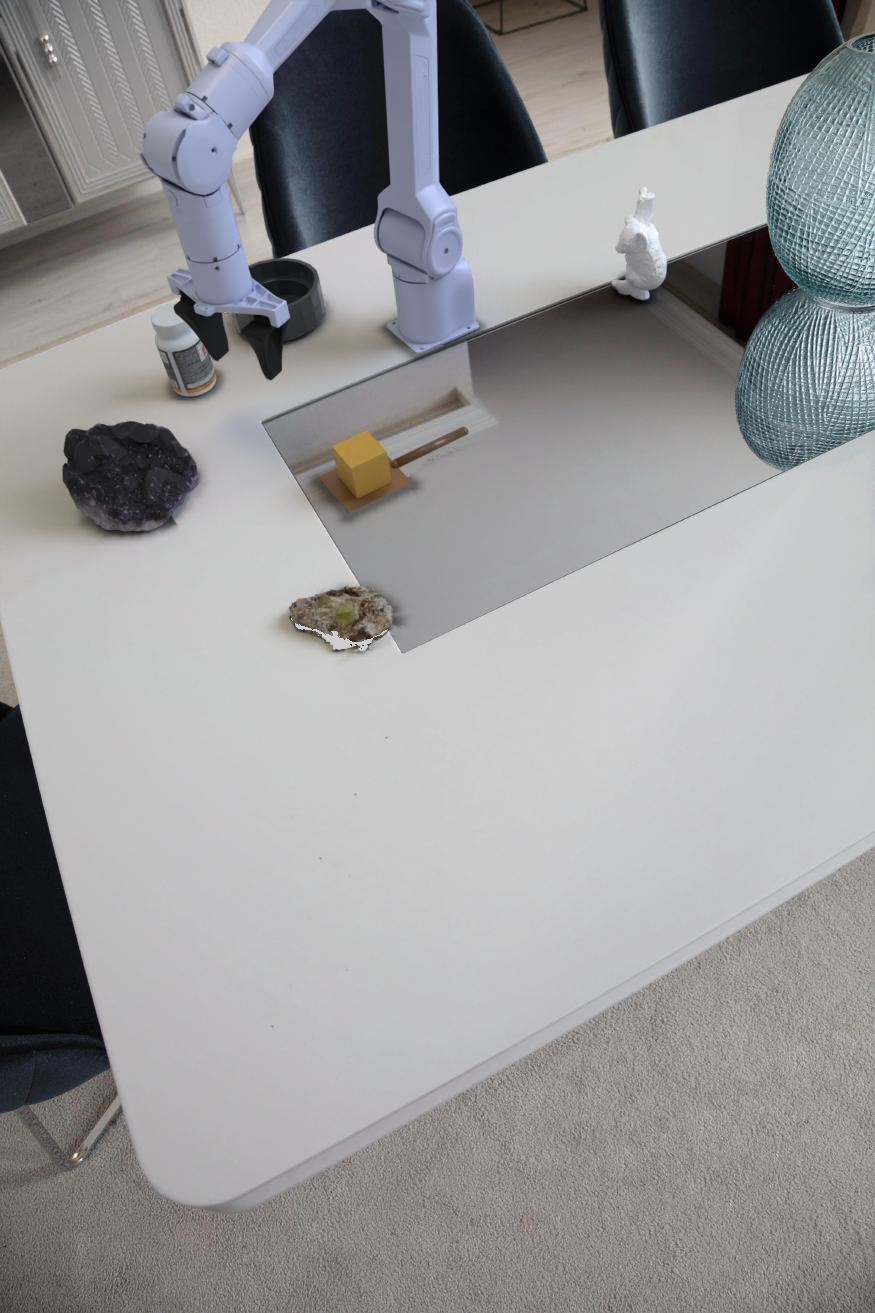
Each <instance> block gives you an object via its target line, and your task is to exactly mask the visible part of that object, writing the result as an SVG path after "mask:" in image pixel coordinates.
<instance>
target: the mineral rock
mask: <svg viewBox="0 0 875 1313" xmlns="http://www.w3.org/2000/svg"><path fill="white" fill-rule="evenodd" d="M288 610H289V612H291V614H292V615H290V614H289V617H288V618H289V620H290V622H291V623H292V624H293V623H294V624H295V623H296V624H298V625H299V624H300V625H301V626H305V627H308V628H311V629H312V630H313V629H317V630H319V631H321V632H323V633H324V634H325V633H326V634H329V635H331V636H333V633H332V632H331V631H337V632H338V635H337V636H338V637H339V636H340V637H339V638H343V639H344V640H345V639H346V638H347V639H349V640H350V641H352V642H362V641H364V640H367V639H371V638H373V637H374V638H373V640H372V641H378V640H380V639H382V638H384V637H385V636H386V635H387V634H388V632H389V631H390V630H391V629H392V628H393V622H394V620H395V613H394V608H393V607H392V606H391V605H390V603H389V602H388V601H387V599H386V598H385V597H384V595H383V594H382V593H380V592H376V589H375V588H373V587H368V588H367V587H365V585H362V584H360V585H359V586H348V585H347V586H343V587H342V588H340V589H339V590H337V589H330V590H328V591H325V592H321V593H316V594H315V595H312V596H307V597H301V598H297V599H296V600H295V601H293V602H292V603H291V605H290V606H289V607H288ZM291 618H292V620H293V621H292V620H291ZM390 627H391V628H390ZM293 628H294V629H296V630H298V631H299V632H302V633H304V634H308V635H315V636H316V637H317V638H320V637H321V638H320V639H323V638H322V634H319V633H318V632H316V631H312V630H305V629H303V630H301V629H298V628H297V627H296V626H294V625H293ZM389 628H390V629H389ZM387 629H389V630H388V631H387V632H385V633H384V634H383V635H380V634H381V633H382V632H383V631H385V630H387ZM326 634H325V635H326ZM318 635H319V636H320V637H318ZM377 635H380V636H377ZM375 636H377V637H375ZM350 645H351V646H352V644H350ZM355 645H356V646H357V647H358V645H357V644H355ZM367 645H368V646H369V647H370V646H372V643H370V644H367ZM362 646H364V645H362ZM359 648H360V647H359ZM361 649H362V648H361Z"/></svg>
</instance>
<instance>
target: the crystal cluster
mask: <svg viewBox="0 0 875 1313" xmlns="http://www.w3.org/2000/svg"><path fill="white" fill-rule="evenodd" d="M62 452H63V455H64V457H65V458H66V459H67V460H66V462H64V463H63V465H61V466H62V468H61V473H62V483H63V484H64V485H65V487H66V489H67V490H68V492H69V495H70V497H71V499H72V501H73V504H74V505H75V507H76V508H77V509H78V510H79V511H80V512H82V514H83V515H85V516H87V517H89V518H90V519H91V520H92V521H93V523H94V524H96V525H97V526H99V527H101V528H102V529H104V530H106V531H115V530H116V531H122V532H124V533H125V532H129V531H130V532H131V531H135V532H140V531H147V532H149V531H150V532H151V531H154V530H155V529H157V528H160V527H162V526H163V525H164V524H165V523H167V522H168V521H169V519H170V517H171V516H172V515H173V514H174V510H175V509H176V508H178V507H179V506H180V505H182V504H183V502H184V501H185V499H186V497H187V496H188V494H190V492H191V491H193V489H195V488H196V486H197V484H198V483H199V482H200V476H199V475H198V474H199V473H198V467H197V462H196V461H195V459H194V458H193V457H192V454H191V453H190V452H189V450H188V449H187V448H186V447H184V446H183V445H182V444H181V442H180V441H179V440H178V439H177V437H176V436H175V434H174V433H173V431H171V429H168V428H167V427H165V426H162V425H159V426H158V425H156V424H155V423H151V422H150V423H149V422H148V423H142V422H138V421H135V420H126V421H122V422H117V423H116V424H113V425H110V424H109V425H108V424H105V423H97V422H96V424H94V425H93V426H91V427H90V428H88V429H81V428H71V429H70V430H68V432H67V433H66V434H65V438H64V442H63V451H62Z"/></svg>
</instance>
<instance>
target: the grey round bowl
mask: <svg viewBox="0 0 875 1313" xmlns="http://www.w3.org/2000/svg"><path fill="white" fill-rule="evenodd" d="M248 268H249V271H250V275H251V277H252V278H253V279H254V280H255V281H257V282H258V283H259V284H260V285H262V286H263V287H264V288H266V289H267V290H268V291H269V292H271V293H272V294H273V295H275V296H276V297H278V298H280V299H282V300H285V301H286V302H287V306H288V308H289V310H290V313H291V318H290V320H289V323H288V326H287V329H286V333H285V337H284V342H286V341H291V340H294V339H297V338H299V337H301V336H304V335H306V334H308V333H310V331H312V330H314V329H315V328H317V326H318V325H319V324H320V323H321V321H322V320H323V318H324V316H325V312H326V304H325V300H324V294H323V290H322V285H321V280H320V279H321V278H320V275H319V272H318V270H317V269H316V268H315V267H314V266H313V265H312V264H311V263H308V262H306V261H303V260H301V259H297V258H292V257H291V258H290V257H280V258H279V257H278V258H275V257H274V258H269V259H264V260H260V261H257V262H255V263H252V264H248ZM230 316H231V318H232V322H233V326H234V328H235V330H236V331H237V332H238V333H239V335H241V336H242V337H244V336H243V335H242V334H241V330H242V329H243V328H244V327H245V326H246V325H247V324H249V323H250V322H251V321H253V320H254V318H253V315H252V314H239V313H230Z"/></svg>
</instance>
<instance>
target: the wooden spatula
mask: <svg viewBox="0 0 875 1313" xmlns="http://www.w3.org/2000/svg"><path fill="white" fill-rule="evenodd" d="M467 435H469V429H468V427H466V426H461V427H459V428H456V429H454V430H452V431H450V432H448V433H446V434H445V435H442V436H440V437H438V438H435V439H434V440H431V441H429V442H427V443H426V444H425V443H424V444H423V445H421V446H418V447H417V448H415V449H413V450H411V451H408V452H407V453H404V454H402V455H401V456H398V457H396V458H394V459H391V458H390V457H389V456H388V463H389V469H390V475H391V481H392V482H391V483H389V484H387V485H385V486H383V487H381V488H379V489H377V490H374V491H372V492H370V493H368V494H366V495H364V496H362V497H360V498H358V499H357V498H356V497H355V496H354V494H353V493H352V492H351V491H350V490H349V489H348V487H347V486H346V485H345V484H344V483H343V482H342V480H341V479H340V478H339V477H338V472H337V468H336V469H334V470H331V471H329V472H328V473H325V474H323V475H321V476H319V477H318V478H319V480H320V481H321V482H322V483H323V485H324V486H325V487H326V488H327V490H329V492H330V493H331V494H332V495H333V496H334V497H335V499H336V500H337V501H338V502H339V504H340V505H341V506H342V507H343V508H344V509H345V511H346V512H347V513H348V514H351V513H353V512H354V511H356V510H358V509H360V508H362V507H365V506H367V505H369V504H371V503H373V502H375V501H377V500H378V499H381V498H383V497H385V496H387V495H389V494H392V493H393V492H395V491H397V490H399V489H401V488H403V487H405V486H407V485H409V484H411V483H412V481H411V480H410V478H409V477H408V476H407V475H406V474H405V473H404V472H403V471H402V470H401V469H400V468H401V467H403V466H406V465H408V464H409V463H412V462H414V461H416V460H418V459H420V458H422V457H424V456H426V455H428V454H430V453H432V452H434V451H437V450H438V449H441V448H442V447H444V446H447V445H449V444H451V443H453V442H455V441H457V440H459V439H461V438H463V437H466V436H467Z"/></svg>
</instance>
